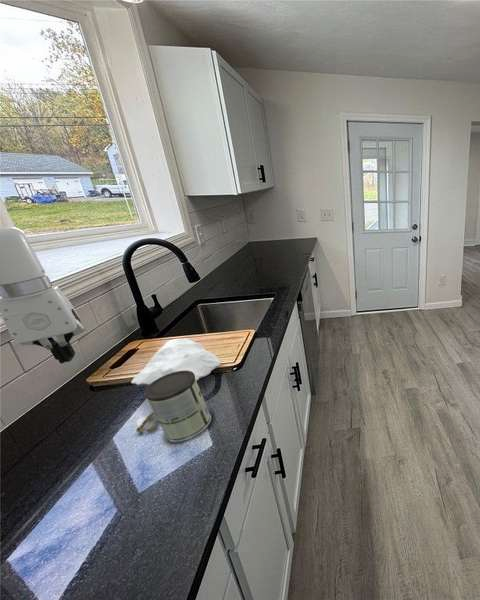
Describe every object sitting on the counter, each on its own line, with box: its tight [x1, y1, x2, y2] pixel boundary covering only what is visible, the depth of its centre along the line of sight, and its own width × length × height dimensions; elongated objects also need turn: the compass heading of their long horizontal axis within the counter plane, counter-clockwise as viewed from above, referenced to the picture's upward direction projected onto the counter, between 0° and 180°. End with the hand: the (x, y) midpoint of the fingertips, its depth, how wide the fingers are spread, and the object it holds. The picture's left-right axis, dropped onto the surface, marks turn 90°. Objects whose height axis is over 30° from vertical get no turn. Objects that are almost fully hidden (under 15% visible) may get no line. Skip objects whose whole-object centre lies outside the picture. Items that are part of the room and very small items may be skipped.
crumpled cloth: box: [130, 338, 222, 386], centre depth 102 cm, size 24×35×9 cm
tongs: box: [135, 410, 159, 434], centre depth 86 cm, size 4×13×2 cm, turn 14°
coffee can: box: [143, 371, 212, 443], centre depth 79 cm, size 10×10×14 cm
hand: (67, 359), depth 74 cm, fingers closed
